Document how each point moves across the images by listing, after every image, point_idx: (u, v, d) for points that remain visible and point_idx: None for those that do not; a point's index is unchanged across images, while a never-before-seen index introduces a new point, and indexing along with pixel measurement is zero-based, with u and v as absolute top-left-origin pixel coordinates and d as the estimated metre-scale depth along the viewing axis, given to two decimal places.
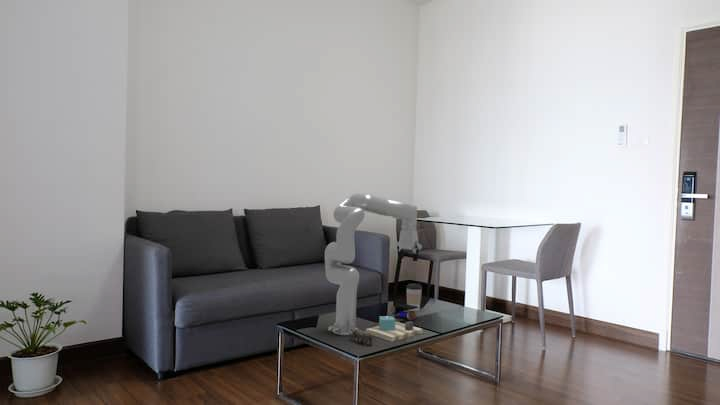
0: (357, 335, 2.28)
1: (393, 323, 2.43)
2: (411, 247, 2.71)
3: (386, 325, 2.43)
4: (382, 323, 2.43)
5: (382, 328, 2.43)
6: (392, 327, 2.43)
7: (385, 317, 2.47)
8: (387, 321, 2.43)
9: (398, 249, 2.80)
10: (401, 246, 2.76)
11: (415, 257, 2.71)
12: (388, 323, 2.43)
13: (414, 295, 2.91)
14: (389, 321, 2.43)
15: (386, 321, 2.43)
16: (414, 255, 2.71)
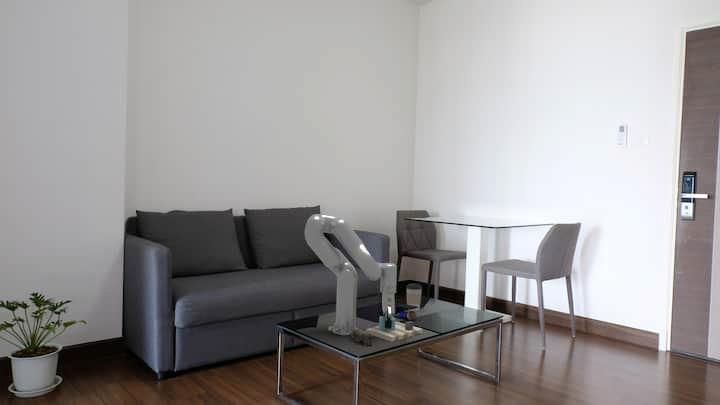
0: (357, 335, 2.28)
1: (393, 323, 2.43)
2: None
3: None
4: (382, 323, 2.43)
5: (382, 328, 2.43)
6: (392, 327, 2.43)
7: (385, 317, 2.47)
8: None
9: (390, 318, 2.41)
10: None
11: None
12: None
13: (414, 295, 2.91)
14: None
15: None
16: None
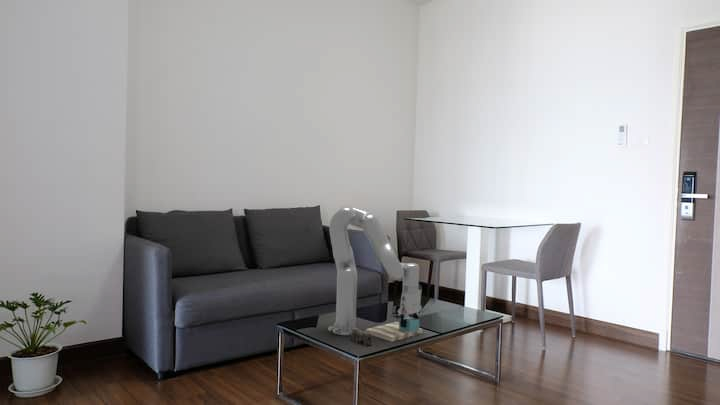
0: (357, 335, 2.28)
1: (408, 324, 2.41)
2: (419, 309, 2.46)
3: None
4: None
5: (400, 327, 2.45)
6: (407, 328, 2.42)
7: None
8: None
9: (402, 317, 2.41)
10: (410, 312, 2.41)
11: None
12: None
13: None
14: None
15: None
16: None
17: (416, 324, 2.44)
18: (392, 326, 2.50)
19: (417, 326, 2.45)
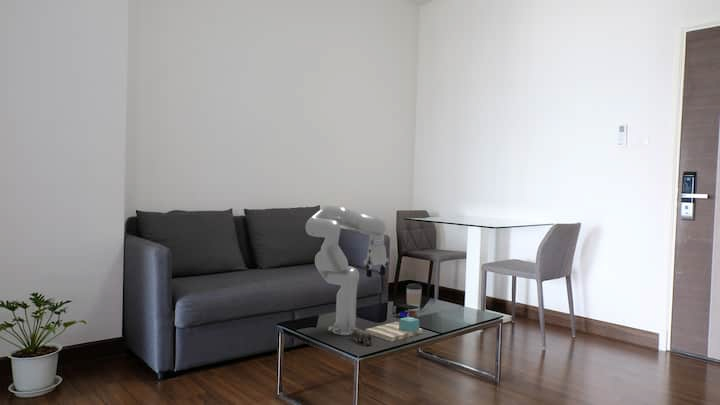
0: (357, 335, 2.29)
1: (408, 324, 2.41)
2: (385, 262, 2.67)
3: (403, 325, 2.43)
4: (400, 322, 2.45)
5: (400, 327, 2.45)
6: (407, 328, 2.42)
7: None
8: (404, 321, 2.43)
9: (368, 267, 2.61)
10: (376, 263, 2.62)
11: None
12: (404, 323, 2.43)
13: (414, 295, 2.91)
14: (405, 322, 2.43)
15: (403, 321, 2.44)
16: (384, 269, 2.69)
17: (416, 324, 2.44)
18: (392, 326, 2.50)
19: (417, 326, 2.45)
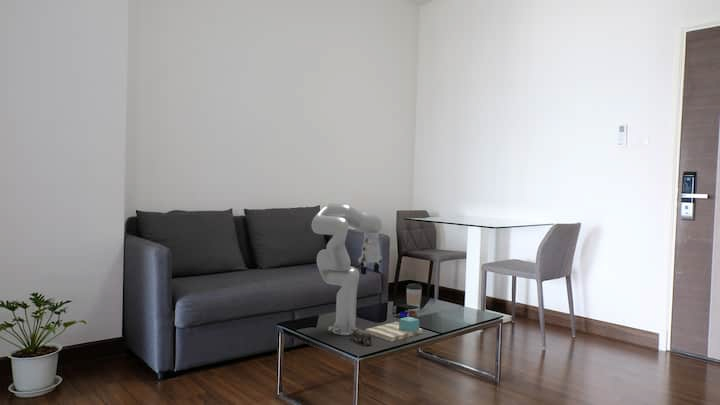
0: (357, 334, 2.29)
1: (408, 324, 2.41)
2: (379, 259, 2.70)
3: (403, 325, 2.43)
4: (400, 322, 2.45)
5: (400, 327, 2.45)
6: (407, 328, 2.42)
7: None
8: (404, 321, 2.43)
9: (362, 265, 2.64)
10: (370, 261, 2.66)
11: None
12: (404, 323, 2.43)
13: (414, 295, 2.91)
14: (405, 322, 2.43)
15: (403, 321, 2.44)
16: (378, 267, 2.72)
17: (416, 324, 2.44)
18: (392, 326, 2.50)
19: (417, 326, 2.45)
